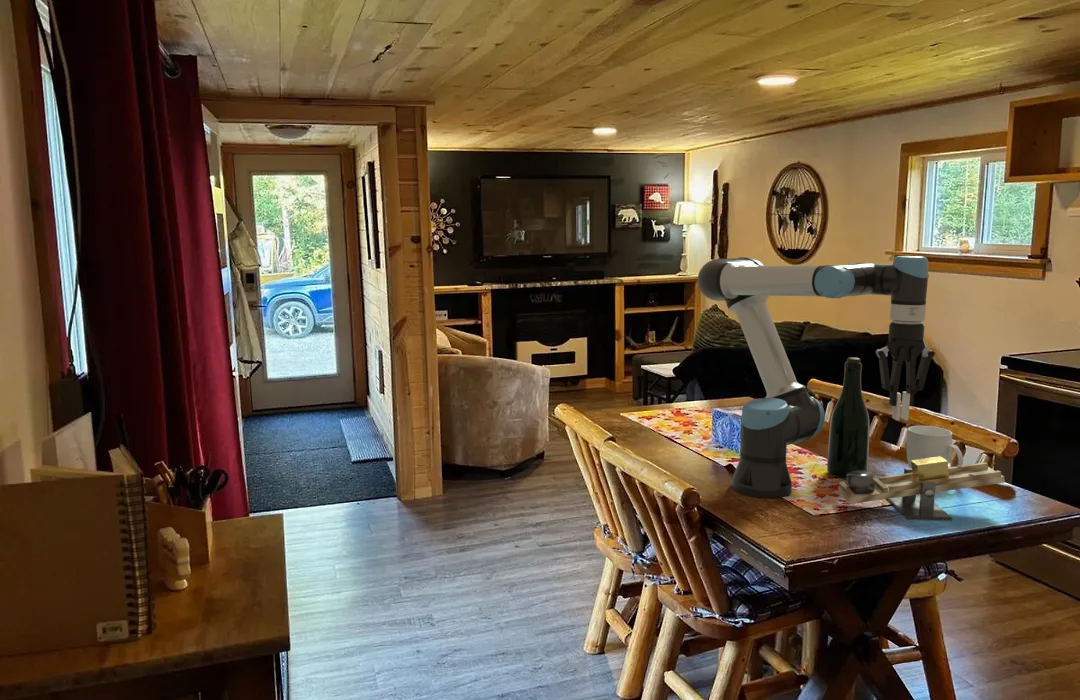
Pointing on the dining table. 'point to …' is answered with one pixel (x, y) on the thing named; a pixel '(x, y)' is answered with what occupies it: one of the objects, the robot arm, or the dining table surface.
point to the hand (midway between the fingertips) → (900, 418)
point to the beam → (907, 486)
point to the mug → (930, 444)
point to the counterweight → (861, 482)
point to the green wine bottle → (849, 426)
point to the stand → (920, 503)
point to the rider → (929, 469)
